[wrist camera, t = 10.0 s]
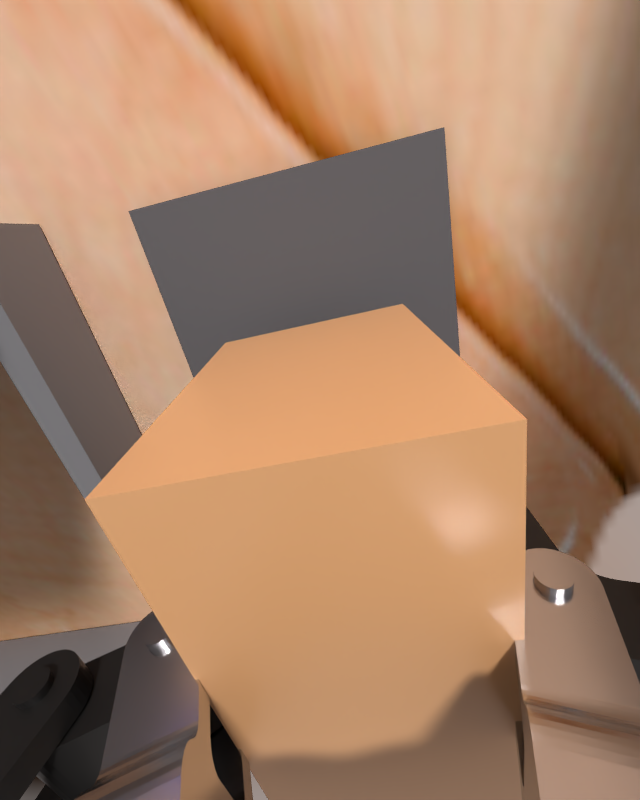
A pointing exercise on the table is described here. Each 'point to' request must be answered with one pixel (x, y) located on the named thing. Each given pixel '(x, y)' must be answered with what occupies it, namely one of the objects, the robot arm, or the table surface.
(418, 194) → the rubber mat
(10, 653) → the case
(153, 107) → the table surface
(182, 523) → the block
